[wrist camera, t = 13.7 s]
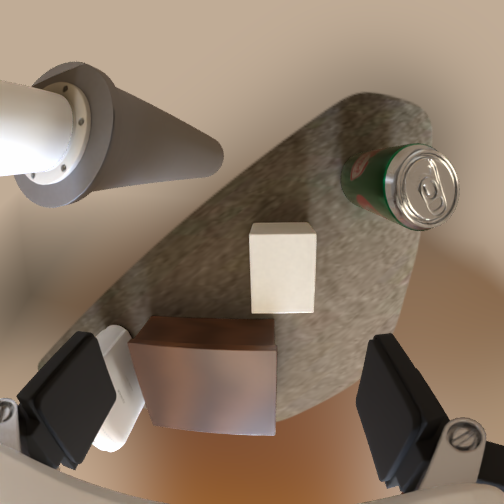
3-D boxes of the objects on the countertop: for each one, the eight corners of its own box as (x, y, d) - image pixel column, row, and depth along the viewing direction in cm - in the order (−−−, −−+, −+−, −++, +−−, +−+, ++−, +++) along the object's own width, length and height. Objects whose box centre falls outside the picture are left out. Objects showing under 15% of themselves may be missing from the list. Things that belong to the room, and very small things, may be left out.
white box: (255, 290, 28) (251, 313, 23) (252, 222, 27) (248, 234, 22) (307, 289, 28) (313, 312, 23) (308, 222, 26) (316, 233, 21)
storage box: (167, 392, 33) (153, 425, 27) (149, 313, 30) (126, 342, 24) (275, 398, 32) (275, 435, 26) (276, 316, 29) (277, 350, 23)
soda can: (373, 143, 24) (441, 127, 12) (398, 190, 25) (475, 207, 13) (328, 169, 25) (373, 168, 13) (356, 217, 26) (413, 252, 14)
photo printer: (156, 392, 33) (121, 464, 21) (128, 390, 33) (89, 456, 21) (130, 323, 30) (74, 390, 18) (100, 323, 31) (41, 384, 19)
